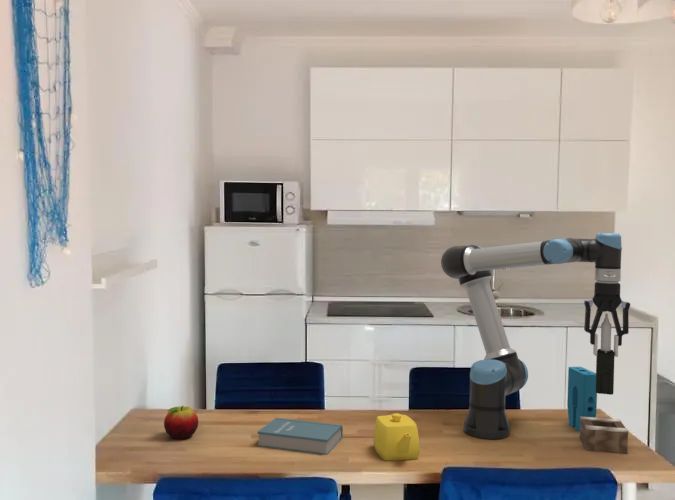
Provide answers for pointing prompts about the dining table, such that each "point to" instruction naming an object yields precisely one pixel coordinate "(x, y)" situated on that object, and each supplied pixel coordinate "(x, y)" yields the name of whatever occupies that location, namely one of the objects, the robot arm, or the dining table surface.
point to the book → (300, 435)
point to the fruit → (181, 422)
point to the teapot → (396, 437)
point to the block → (581, 395)
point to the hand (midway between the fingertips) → (605, 355)
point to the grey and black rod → (605, 361)
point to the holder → (603, 434)
